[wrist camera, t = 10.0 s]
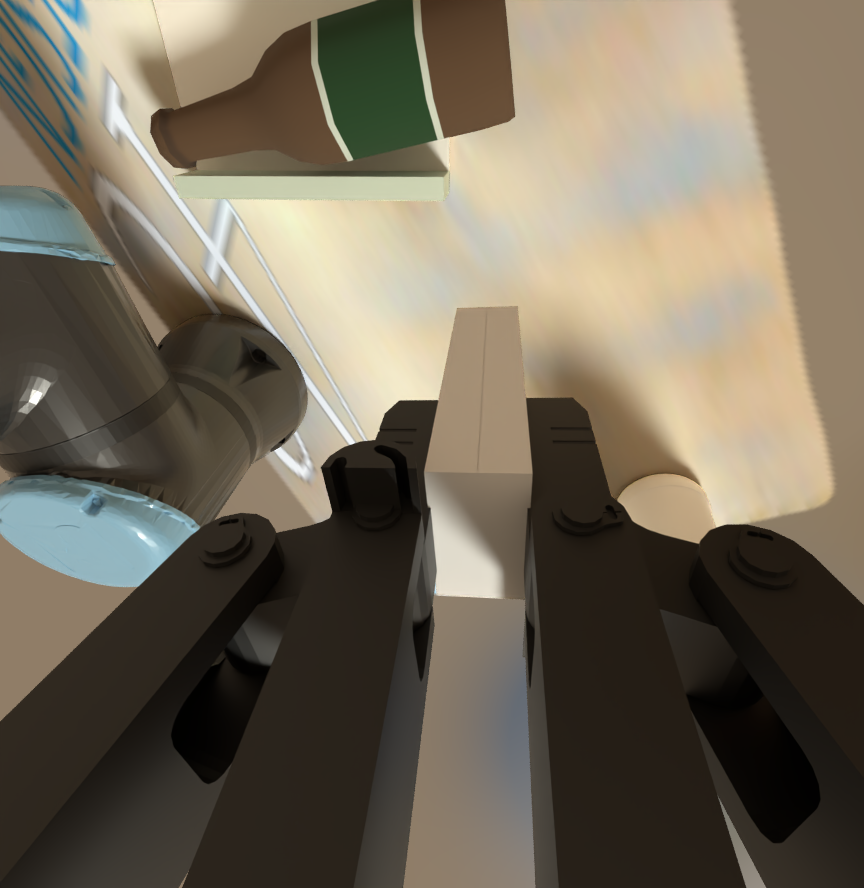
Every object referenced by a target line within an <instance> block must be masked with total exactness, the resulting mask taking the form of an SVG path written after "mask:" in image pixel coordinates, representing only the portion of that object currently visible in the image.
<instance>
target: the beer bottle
mask: <svg viewBox="0 0 864 888" xmlns="http://www.w3.org/2000/svg"><path fill="white" fill-rule="evenodd" d="M514 117H515V108H514V96H513V84H512V72H511V61H510V50H509V38H508V27H507V16H506V6H505V0H376V1H373V2H370V3H367V4H363V5H360V6H357V7H354V8H351V9H347V10H344V11H341V12H338V13H334V14H331V15H328V16H325V17H322V18H318V19H315V20H312V21H309V22H307V23H305V24H302V25H300V26H298V27H296V28H293V29H291V30H289V31H286V32H284V33H283V34H282V35H281V36H280V37H279V38H278V39H277V40H276V41H275V42H274V43H273V44H272V45H271V46H269V47H268V48H267V49H266V50H265V52H264V54H263V56H262V58H261V59H260V61H259V63H258V65H257V67H256V69H255V71H254V73H253V75H252V77H250V78H249V79H247V80H245V81H244V82H242V83H240V84H238V85H237V86H235V87H233V88H231V89H229V90H226V91H224V92H221V93H218V94H216V95H213V96H211V97H208V98H205V99H203V100H200V101H198V102H195V103H192V104H190V105H187V106H184V107H182V108H179V109H177V110H173V109H172V108H171V109H159V110H158V111H157V112H155V113H154V114H153V115H152V116H151V130H150V133H151V135H152V137H153V139H154V142H155V144H156V146H157V148H158V151H159V153H160V154H161V155H162V156H163V157H164V158H165V159H166V160H167V161H168V162H169V163H170V164H171V165H172V166H173V167H175V168H190V167H195V166H196V163H197V161H199V160H204V159H210V158H216V157H221V156H227V155H233V154H239V153H244V152H250V151H261V150H277V151H279V152H281V153H283V154H285V155H287V156H289V157H291V158H293V159H295V160H298V161H300V162H306V163H312V164H318V165H327V164H334V163H341V162H348V161H352V160H356V159H360V158H365V157H369V156H373V155H377V154H381V153H386V152H390V151H394V150H398V149H403V148H407V147H411V146H415V145H419V144H424V143H428V142H432V141H436V140H440V139H445V138H449V137H453V136H457V135H462V134H466V133H470V132H474V131H478V130H482V129H485V128H489V127H492V126H495V125H499V124H502V123H505V122H508V121H510V120H511V119H512V118H514Z"/></svg>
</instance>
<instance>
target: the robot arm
mask: <svg viewBox="0 0 864 888" xmlns="http://www.w3.org/2000/svg"><path fill="white" fill-rule="evenodd" d="M115 265H116V264H115V262H114V260H113V259H112V258H111V257H110V256H108V255H106V253H105V251H104V250H103V248H102V247H101V245H100V244H99V242H98V240H97V239H96V237H95V236H94V234H93V232H92V231H91V229H90V227H89V226H88V224H87V222H86V221H85V219H84V217H83V216H82V214H81V213H80V211H79V210H78V209H77V207H76V206H75V205H74V204H73V203H71V202H70V201H69V200H68V199H66V198H65V197H63V196H62V195H60V194H58V193H56V192H54V191H51V190H48V189H45V188H40V187H33V186H0V466H1V467H2V468H3V469H4V471H5V472H6V473H7V474H8V476H9V477H10V480H8V481H4V482H3V483H2V484H0V534H1V535H2V536H3V537H4V538H5V539H6V540H7V541H8V542H10V543H11V544H12V545H13V546H15V547H16V548H17V549H19V550H20V551H22V552H23V553H24V554H26V555H27V556H29V557H30V558H32V559H34V560H36V561H37V562H40V563H41V564H43V565H45V566H47V567H49V568H52V569H54V570H56V571H59V572H61V573H63V574H66V575H69V576H72V577H76V578H78V579H81V580H84V581H88V582H92V583H96V584H102V585H107V586H116V587H137V586H138V587H137V588H136V589H135V590H134V591H133V592H132V593H131V594H130V596H128V597H127V598H126V599H125V600H124V601H123V602H122V603H121V604H120V605H119V606H118V607H117V608H116V609H115V610H114V611H113V612H112V613H111V614H110V615H109V616H108V617H107V618H106V619H105V620H104V621H103V622H102V623H101V624H100V625H99V626H98V627H96V629H94V630H93V632H91V634H89V635H88V636H87V637H86V638H85V639H84V640H83V641H82V642H81V643H80V644H79V645H78V646H77V647H76V648H75V649H74V650H73V651H72V652H71V653H70V654H69V655H68V656H67V657H66V658H65V659H64V660H63V661H62V662H61V663H60V664H59V665H58V666H57V667H56V668H55V669H54V670H53V671H51V673H49V674H48V675H47V677H45V678H44V679H43V680H42V681H41V682H40V683H39V684H38V685H37V686H36V687H35V688H34V689H33V690H32V691H31V692H30V693H29V694H28V695H27V696H26V697H25V698H24V699H23V700H22V701H21V702H20V703H19V704H18V705H17V706H16V707H15V708H14V709H13V710H12V711H11V712H10V713H9V714H8V715H6V716H5V717H4V718H3V719H2V720H1V721H0V888H179V886H180V884H181V883H182V881H183V879H184V878H185V876H186V874H187V873H188V875H187V877H186V880H185V882H184V884H183V887H182V888H403V884H404V875H405V867H406V859H407V850H408V842H409V833H410V826H411V817H412V809H413V800H414V792H415V784H416V775H417V767H418V759H419V750H420V741H421V734H422V724H423V717H424V709H425V700H426V692H427V684H428V675H429V667H430V659H431V650H432V642H433V633H434V616H433V607H432V605H433V596H434V589H435V582H436V592H437V595H441V596H442V595H444V596H462V597H482V598H503V599H523V600H525V606H526V607H525V608H526V611H525V626H524V641H523V657H525V658H526V681H527V704H528V726H529V749H530V771H531V794H532V817H533V840H534V861H535V885H536V888H746V886H745V882H744V879H743V876H742V873H741V870H740V866H739V863H738V860H737V857H736V854H735V850H734V847H733V844H732V841H731V838H730V834H729V831H728V828H727V825H726V822H725V818H724V815H723V812H722V809H721V805H720V802H719V799H718V797H719V798H720V800H721V802H722V804H723V806H724V808H725V810H726V812H727V814H728V815H729V817H730V819H731V821H732V823H733V825H734V827H735V829H736V831H737V833H738V835H739V837H740V839H741V840H742V842H743V844H744V846H745V848H746V850H747V852H748V854H749V856H750V858H751V859H752V861H753V863H754V865H755V867H756V869H757V871H758V873H759V874H760V877H761V878H762V880H763V882H764V884H765V886H766V888H864V605H863V604H862V603H861V602H860V601H859V600H858V599H857V598H856V597H855V596H854V595H853V594H852V593H851V592H850V591H849V590H848V589H847V588H846V587H845V586H843V584H842V583H841V582H839V581H838V580H837V579H836V578H835V577H834V576H833V575H832V574H831V573H830V572H829V571H828V570H827V569H826V568H825V567H824V566H823V565H822V564H821V563H820V562H819V561H818V560H817V559H816V558H815V557H814V556H813V555H812V554H810V553H809V552H807V551H806V550H805V549H804V548H802V547H801V546H799V545H798V544H797V543H796V542H794V541H793V540H791V539H788V538H786V537H784V536H782V535H780V534H778V533H776V532H773V531H771V530H768V529H763V528H760V527H755V526H751V525H723V526H720V527H717V528H714V529H711V530H709V531H708V532H707V534H706V535H705V536H704V537H703V538H702V539H701V540H700V543H699V544H698V543H694V542H690V541H686V540H682V539H678V538H674V537H671V536H667V535H663V534H660V533H657V532H654V531H651V530H648V529H646V528H644V527H642V526H640V525H639V524H637V523H635V522H633V521H632V519H631V517H630V516H629V514H628V512H627V511H626V509H625V507H624V506H623V505H622V504H620V503H619V502H618V501H617V500H615V499H614V498H613V497H611V494H610V491H609V487H608V483H607V480H606V476H605V473H604V469H603V466H602V462H601V459H600V455H599V452H598V448H597V444H595V437H594V434H593V431H592V427H591V423H590V420H589V416H588V412H587V411H586V410H585V409H584V408H583V407H582V406H581V405H580V404H579V403H578V402H577V401H575V400H574V399H573V398H526V394H525V383H524V372H523V360H522V349H521V338H520V327H519V316H518V306H510V307H478V308H457V311H456V316H455V321H454V326H453V331H452V336H451V341H450V346H449V351H448V356H447V361H446V366H445V371H444V375H443V380H442V385H441V390H440V395H439V400H409V401H398V402H397V403H396V404H395V405H394V406H393V407H392V408H391V409H390V410H388V411H387V412H386V413H385V415H384V418H383V421H382V423H381V426H380V432H378V434H377V437H376V440H371V441H362V442H358V443H355V444H352V445H349V446H346V447H343V448H342V449H340V450H339V451H337V452H336V453H334V454H332V455H331V456H330V457H329V458H328V459H327V460H326V462H325V463H324V464H323V465H322V467H321V469H322V473H323V477H324V481H325V485H326V489H327V492H328V496H329V500H330V504H331V508H332V514H331V517H330V518H329V519H327V520H325V521H323V522H320V523H317V524H314V525H311V526H307V527H302V528H297V529H292V530H288V531H283V532H279V533H276V531H275V529H274V527H273V526H272V524H271V523H270V521H269V520H268V519H266V518H264V517H262V516H260V515H257V514H246V513H239V514H234V515H229V516H224V517H221V518H219V519H217V520H215V518H216V517H217V515H218V514H219V512H220V510H221V509H222V507H223V506H224V505H225V503H226V502H227V500H228V499H229V497H230V496H231V494H232V493H233V491H234V490H235V488H236V487H237V485H238V483H239V482H240V481H241V479H242V478H243V476H244V475H245V473H246V471H247V470H248V469H249V467H250V466H251V464H253V463H254V462H256V461H258V460H259V459H261V458H263V457H264V456H266V455H267V454H269V453H270V452H272V451H274V450H276V449H278V448H279V447H281V446H282V445H284V444H285V443H286V442H287V441H288V440H289V439H290V438H291V437H292V436H293V434H294V433H295V431H296V430H297V428H298V427H299V425H300V424H301V422H302V420H303V418H304V416H305V413H306V409H307V388H306V384H305V381H304V378H303V375H302V373H301V370H300V368H299V367H298V365H297V363H296V361H295V360H294V358H293V357H292V356H291V354H290V353H289V352H288V351H287V349H286V348H285V347H284V346H283V345H282V344H281V343H280V342H279V341H278V340H277V339H275V338H274V337H273V336H272V335H270V334H269V333H268V332H266V331H265V330H263V329H262V328H260V327H258V326H256V325H254V324H252V323H250V322H248V321H246V320H243V319H240V318H237V317H233V316H229V315H222V314H206V315H200V316H196V317H193V318H191V319H189V320H187V321H185V322H183V323H182V324H180V325H179V326H177V327H176V328H175V329H173V330H172V331H171V332H169V333H168V334H167V335H166V336H165V337H164V338H163V339H162V341H161V342H160V344H159V345H158V347H157V346H156V344H155V342H154V340H153V339H152V337H151V335H150V333H149V331H148V330H147V328H146V326H145V324H144V322H143V320H142V319H141V317H140V315H139V313H138V311H137V309H136V307H135V305H134V303H133V302H132V300H131V298H130V296H129V294H128V292H127V290H126V288H125V287H124V285H123V283H122V281H121V279H120V277H119V275H118V273H117V272H116V270H115V268H114V266H115ZM717 795H718V796H717ZM188 871H189V872H188Z"/></svg>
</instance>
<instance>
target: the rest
mask: <svg viewBox="0 0 864 888" xmlns="http://www.w3.org/2000/svg"><path fill="white" fill-rule="evenodd" d="M373 1H376V0H153V2H154V6H155V10H156V14H157V18H158V22H159V26H160V30H161V33H162V37H163V41H164V45H165V49H166V53H167V57H168V60H169V64H170V68H171V72H172V76H173V80H174V84H175V88H176V91H177V95H178V99H179V103H180V107H181V108H182V107H184V106H187V105H190V104H192V103H195V102H198V101H200V100H203V99H205V98H208V97H211V96H213V95H216V94H218V93H221V92H224V91H226V90H229V89H231V88H233V87H235V86H237V85H238V84H240V83H242V82H244V81H245V80H247V79H249V78H250V77H252V75H253V73H254V71H255V69H256V67H257V65H258V63H259V61H260V59H261V58H262V56H263V54H264V52H265V50H266V49H267V48H268V47H269V46H271V45H272V44H273V43H274V42H275V41H276V40H277V39H278V38H279V37H280V36H281V35H282V34H283V33H284V32H286V31H289V30H291V29H293V28H296V27H298V26H300V25H302V24H305V23H307V22H309V21H312V20H315V19H318V18H322V17H325V16H328V15H331V14H334V13H338V12H341V11H344V10H347V9H351V8H354V7H357V6H360V5H363V4H367V3H370V2H373ZM196 169H197V170H196V171H192V172H188V173H183V174H179V175H175V176H173V178H174V182H175V185H176V189H177V192H178V196H179V199H269V200H372V201H444V200H445V199H446V197H447V195H448V194H449V178H450V137H449V138H445V139H440V140H436V141H432V142H428V143H424V144H419V145H415V146H411V147H407V148H403V149H398V150H394V151H390V152H386V153H381V154H377V155H373V156H369V157H365V158H360V159H356V160H352V161H348V162H341V163H334V164H327V165H318V164H312V163H306V162H300V161H298V160H295V159H293V158H291V157H289V156H287V155H285V154H283V153H281V152H279V151H277V150H261V151H250V152H244V153H239V154H233V155H227V156H221V157H216V158H210V159H204V160H199V161H197V163H196Z"/></svg>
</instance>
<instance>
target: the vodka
mask: <svg viewBox="0 0 864 888" xmlns="http://www.w3.org/2000/svg"><path fill="white" fill-rule="evenodd" d="M617 501H618V502H619V503H620V504H622V505H623V506H624V507H625V509H626V511H627V512H628V514H629V516H630V517H631V519H632V521H633V522H635V523H637V524H639V525H640V526H642V527H644V528H646V529H648V530H651V531H654V532H657V533H660V534H663V535H667V536H671V537H674V538H678V539H682V540H686V541H690V542H694V543H698V544H699V543H700V540H701V539H702V538H703V537H704V536H705V535H706V534H707V532H708V531H709V530H711V529H714V528H716V526H715V523H714V520H713V517H712V508H711V504H710V502H709V500H708V498H707V495H706V493H705V491H704V490H703V489H702V488H701V486H699V485H698V484H697V483H695V482H694V481H692V480H690V479H688V478H686V477H684V476H681V475H676V474H655V475H650V476H647V477H644V478H641V479H639V480H637V481H635V482H633V483H632V484H630V485H629V486H628V487H626V488H625V489H624V490H623V492H622V493H621V494H620V496H619V498H618V500H617Z"/></svg>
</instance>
